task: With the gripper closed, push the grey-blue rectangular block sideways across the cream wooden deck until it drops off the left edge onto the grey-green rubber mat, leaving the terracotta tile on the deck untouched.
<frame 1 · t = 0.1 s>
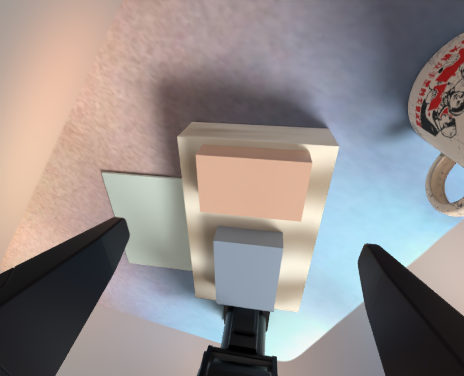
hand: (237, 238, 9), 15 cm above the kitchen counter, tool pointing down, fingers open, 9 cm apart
grey-blue rectangular block: (247, 262, 25), point 4 cm above the kitchen counter, touching deck
mat: (156, 225, 30), on the kitchen counter
teacup with lid: (455, 108, 19), on the kitchen counter
terracotta tile: (252, 176, 20), point 4 cm above the kitchen counter, touching deck
deck: (252, 215, 27), on the kitchen counter
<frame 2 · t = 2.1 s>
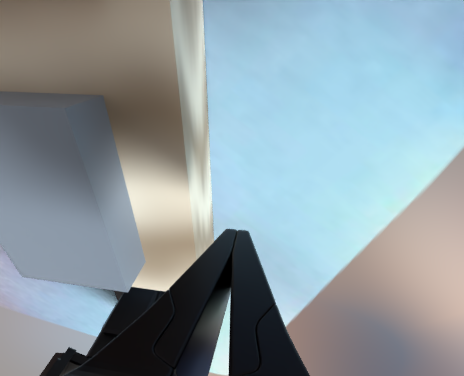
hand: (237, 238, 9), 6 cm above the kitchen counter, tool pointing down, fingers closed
grey-blue rectangular block: (71, 189, 12), point 4 cm above the kitchen counter, touching deck
deck: (103, 107, 14), on the kitchen counter
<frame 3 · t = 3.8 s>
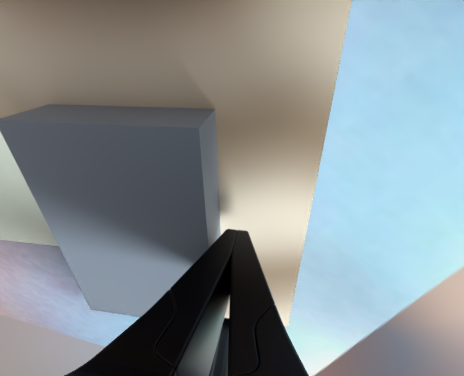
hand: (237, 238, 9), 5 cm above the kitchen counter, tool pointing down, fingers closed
grey-blue rectangular block: (151, 213, 11), point 4 cm above the kitchen counter
mat: (13, 160, 16), on the kitchen counter
deck: (185, 119, 12), on the kitchen counter
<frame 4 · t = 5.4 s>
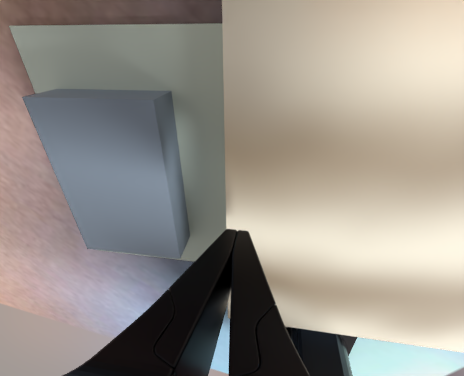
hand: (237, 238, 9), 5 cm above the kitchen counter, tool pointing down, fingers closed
grey-blue rectangular block: (113, 190, 13), point 2 cm above the kitchen counter, tilted 180°, touching mat
mat: (144, 168, 14), on the kitchen counter
deck: (368, 126, 11), on the kitchen counter
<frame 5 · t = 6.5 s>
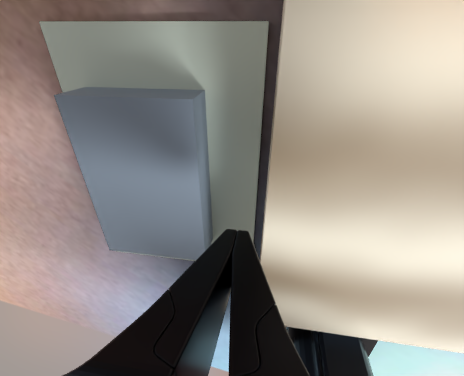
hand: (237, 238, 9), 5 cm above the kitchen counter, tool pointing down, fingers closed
grey-blue rectangular block: (141, 191, 12), point 2 cm above the kitchen counter, tilted 180°, touching mat
mat: (170, 169, 14), on the kitchen counter
deck: (407, 128, 11), on the kitchen counter
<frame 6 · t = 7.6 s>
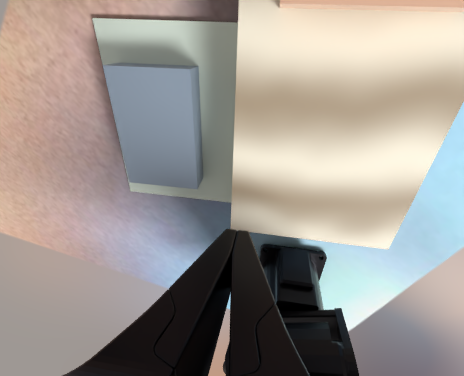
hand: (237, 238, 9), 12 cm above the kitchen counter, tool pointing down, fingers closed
grey-blue rectangular block: (155, 134, 18), point 2 cm above the kitchen counter, tilted 180°, touching mat
mat: (174, 123, 20), on the kitchen counter
deck: (327, 94, 17), on the kitchen counter
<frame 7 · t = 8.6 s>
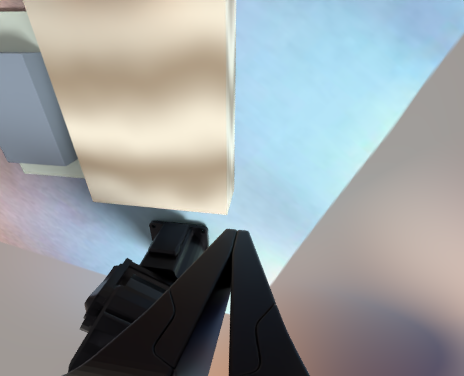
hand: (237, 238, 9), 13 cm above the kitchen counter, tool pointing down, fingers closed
grey-blue rectangular block: (14, 115, 20), point 2 cm above the kitchen counter, tilted 180°, touching mat
mat: (42, 107, 22), on the kitchen counter
deck: (158, 73, 19), on the kitchen counter
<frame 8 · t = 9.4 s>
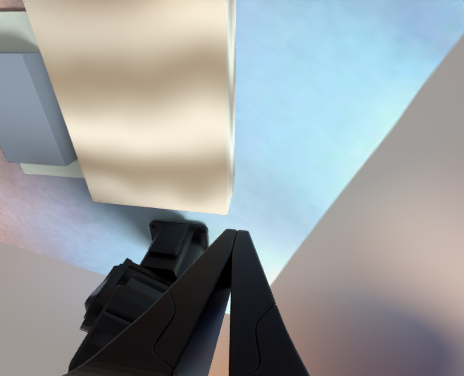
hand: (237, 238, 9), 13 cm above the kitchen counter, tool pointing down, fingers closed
grey-blue rectangular block: (14, 115, 20), point 2 cm above the kitchen counter, tilted 180°, touching mat
mat: (42, 107, 22), on the kitchen counter
deck: (158, 73, 19), on the kitchen counter
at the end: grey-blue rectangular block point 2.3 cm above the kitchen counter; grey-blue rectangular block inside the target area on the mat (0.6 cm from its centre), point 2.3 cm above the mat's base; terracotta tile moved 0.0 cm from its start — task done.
